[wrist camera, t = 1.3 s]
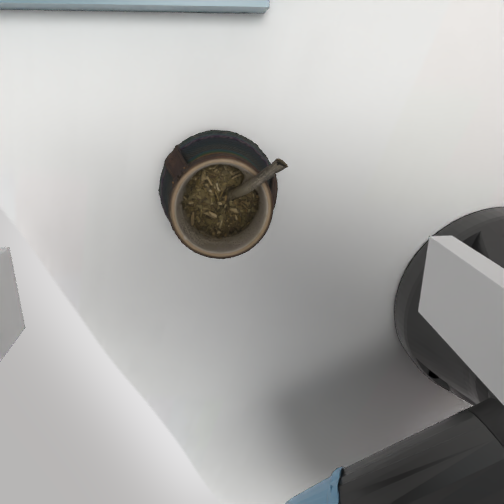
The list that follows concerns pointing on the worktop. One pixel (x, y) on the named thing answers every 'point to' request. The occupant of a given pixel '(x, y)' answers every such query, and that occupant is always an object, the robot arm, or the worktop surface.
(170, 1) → the slate tray
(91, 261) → the worktop surface
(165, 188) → the mate gourd
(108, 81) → the worktop surface
